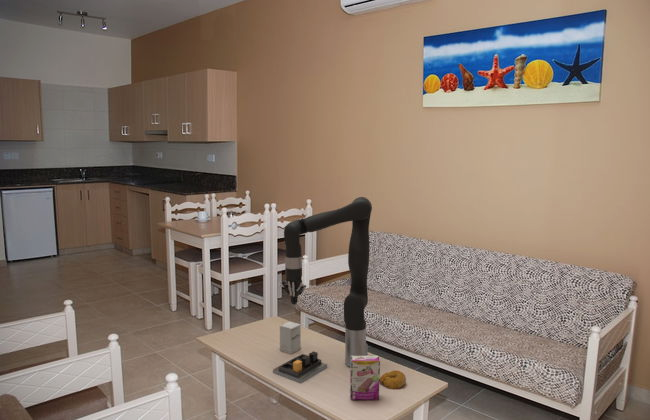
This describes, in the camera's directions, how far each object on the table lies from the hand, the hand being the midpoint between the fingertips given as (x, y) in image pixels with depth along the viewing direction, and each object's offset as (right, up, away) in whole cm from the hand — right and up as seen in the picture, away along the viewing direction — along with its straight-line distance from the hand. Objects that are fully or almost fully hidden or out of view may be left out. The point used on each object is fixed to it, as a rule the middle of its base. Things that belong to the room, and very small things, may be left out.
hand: (294, 303), depth 223 cm
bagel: (+42, -30, -18) cm, 55 cm away
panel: (+3, -28, -6) cm, 29 cm away
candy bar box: (+29, -31, -29) cm, 52 cm away
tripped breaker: (+2, -27, -12) cm, 30 cm away
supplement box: (-3, -25, +15) cm, 30 cm away
